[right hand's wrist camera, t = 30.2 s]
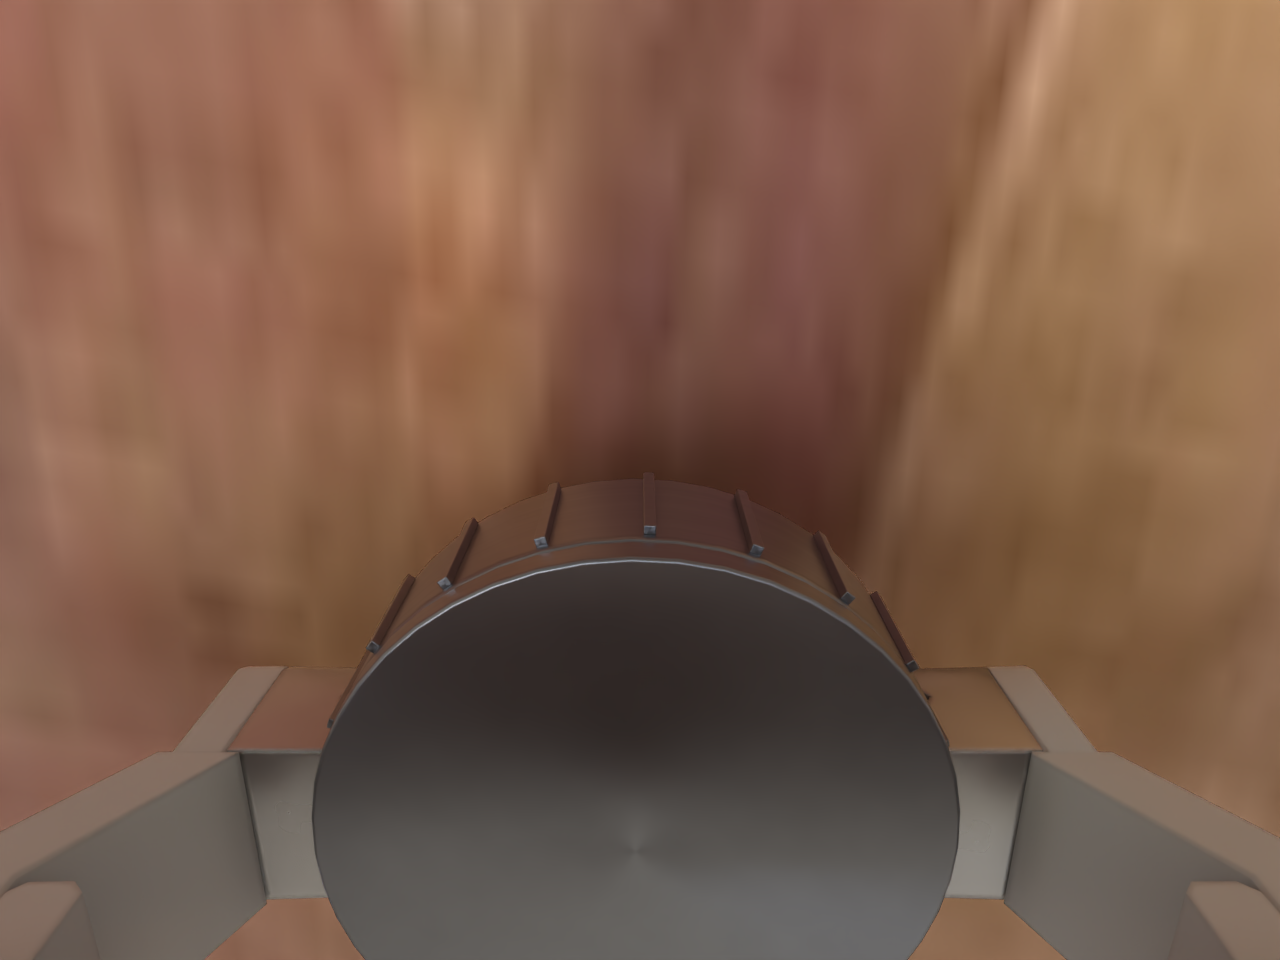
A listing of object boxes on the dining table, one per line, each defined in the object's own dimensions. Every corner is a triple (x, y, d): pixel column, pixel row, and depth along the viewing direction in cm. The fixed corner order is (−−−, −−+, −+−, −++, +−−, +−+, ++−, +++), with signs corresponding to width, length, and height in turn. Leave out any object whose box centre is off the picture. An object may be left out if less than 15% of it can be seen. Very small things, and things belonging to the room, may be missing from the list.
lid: (1016, 634, 10) (1106, 746, 8) (727, 995, 11) (743, 1154, 10) (516, 364, 9) (482, 420, 7) (285, 807, 10) (209, 946, 9)
